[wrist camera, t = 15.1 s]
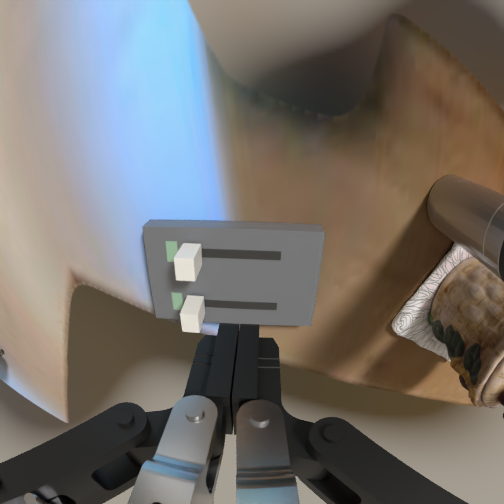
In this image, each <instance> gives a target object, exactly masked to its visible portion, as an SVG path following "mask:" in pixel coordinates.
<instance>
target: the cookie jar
mask: <svg viewBox="0 0 504 504" xmlns="http://www.w3.org/2000/svg"><path fill="white" fill-rule="evenodd" d="M392 328H393V330H394V332H396V334H397V335H399V336H402V337H405V338H407V339H409V340H413V341H414V342H416V344H418V345H419V346H420V347H422V348H425V349H428V350H429V351H433V352H434V353H436V354H437V355H440V356H443V357H444V358H446V359H447V360H448V361H451V363H450V366H451V367H452V368H453V369H454V370H455V371H456V372H458V373H459V380H460V383H461V385H462V386H463V387H464V388H465V389H467V390H469V398H471V401H472V403H473V404H474V406H475V407H479V406H480V407H481V406H485V407H489V408H497V407H498V405H499V404H502V405H503V406H504V282H503V281H502V280H501V279H500V278H498V277H497V276H496V275H495V274H494V273H493V272H491V271H490V270H489V269H488V268H487V267H485V266H484V265H483V264H482V263H481V262H479V261H478V260H477V259H476V258H474V257H473V256H472V255H471V254H469V253H468V252H467V251H466V250H464V249H463V248H462V247H460V246H459V245H458V244H456V243H455V242H454V244H453V246H452V248H451V249H450V251H449V252H448V253H447V254H446V255H445V256H444V257H443V259H442V260H441V261H440V263H439V264H438V265H437V267H436V268H435V269H434V271H433V272H432V273H431V275H430V276H429V277H428V278H427V279H426V280H425V281H424V283H423V284H422V285H421V286H420V287H419V289H418V290H417V292H416V293H415V294H414V295H413V296H412V297H411V298H410V299H409V300H408V301H407V303H406V304H405V305H404V306H403V307H402V309H401V310H400V312H399V313H398V314H397V315H396V317H395V318H394V320H393V321H392ZM503 418H504V413H503Z"/></svg>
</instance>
